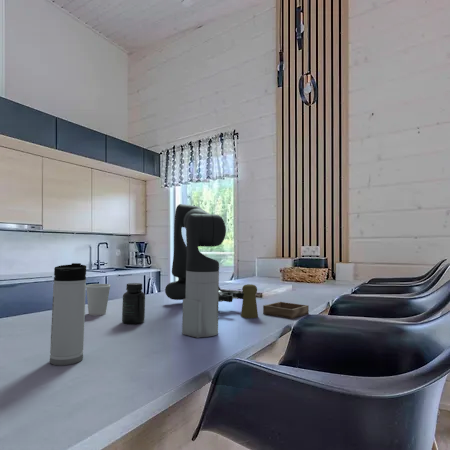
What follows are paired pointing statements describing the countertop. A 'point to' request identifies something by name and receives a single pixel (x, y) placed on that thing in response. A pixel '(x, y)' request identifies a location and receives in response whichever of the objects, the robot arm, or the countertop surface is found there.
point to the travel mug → (68, 314)
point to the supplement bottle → (133, 304)
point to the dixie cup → (97, 298)
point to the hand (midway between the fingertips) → (239, 297)
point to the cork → (249, 302)
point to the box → (286, 310)
